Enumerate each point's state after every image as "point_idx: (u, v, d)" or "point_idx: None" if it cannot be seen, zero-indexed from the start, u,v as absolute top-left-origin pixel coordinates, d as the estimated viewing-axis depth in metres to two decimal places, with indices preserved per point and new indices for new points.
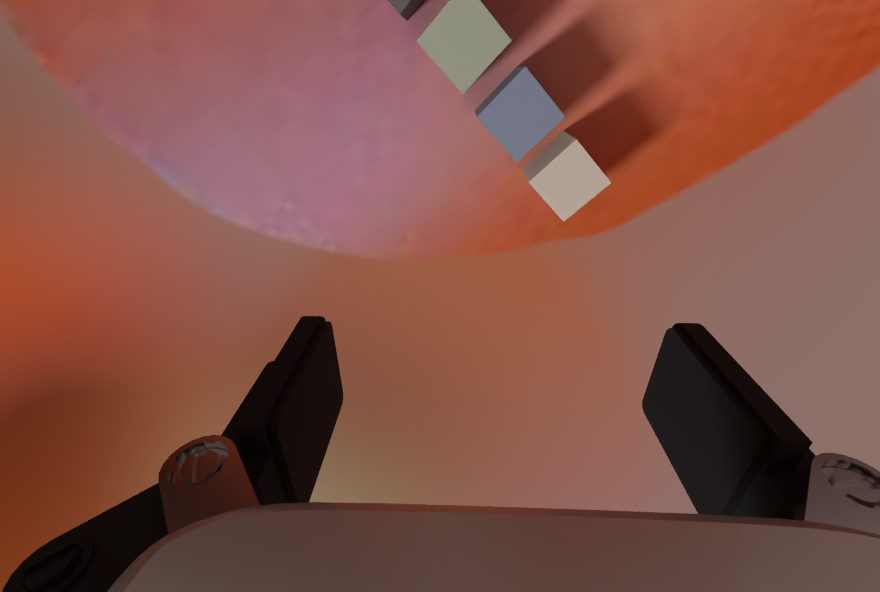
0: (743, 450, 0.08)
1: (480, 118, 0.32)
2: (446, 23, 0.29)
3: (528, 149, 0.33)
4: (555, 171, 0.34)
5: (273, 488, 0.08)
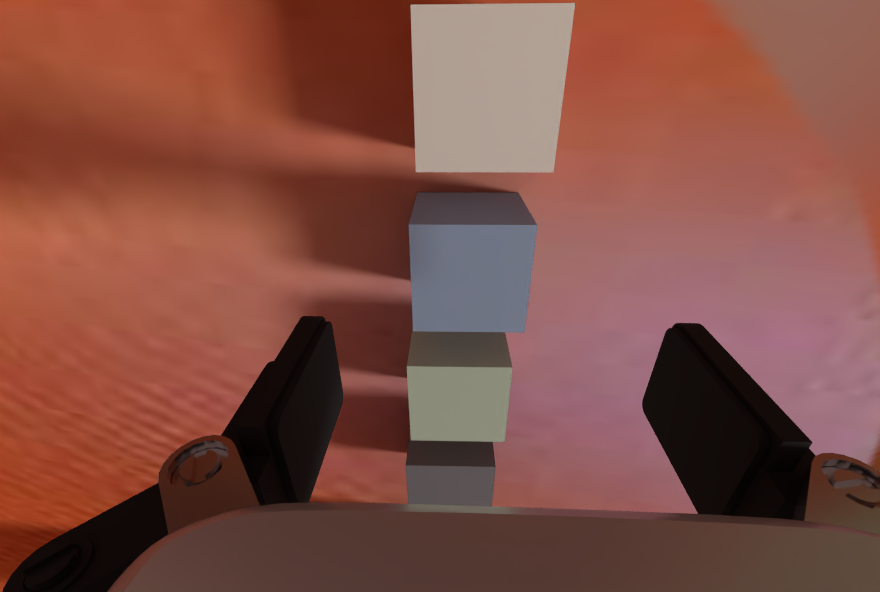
0: (743, 450, 0.08)
1: (522, 326, 0.18)
2: (460, 429, 0.21)
3: (502, 228, 0.16)
4: (494, 145, 0.14)
5: (273, 488, 0.08)
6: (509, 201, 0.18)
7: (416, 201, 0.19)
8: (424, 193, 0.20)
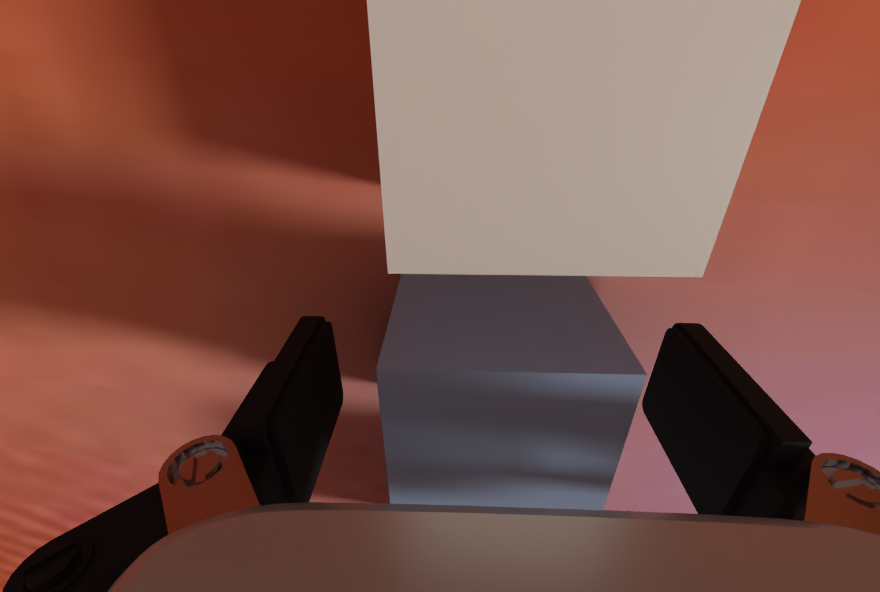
0: (743, 450, 0.08)
1: None
2: None
3: (571, 378, 0.07)
4: (571, 219, 0.06)
5: (273, 488, 0.08)
6: (567, 287, 0.10)
7: (400, 286, 0.10)
8: None
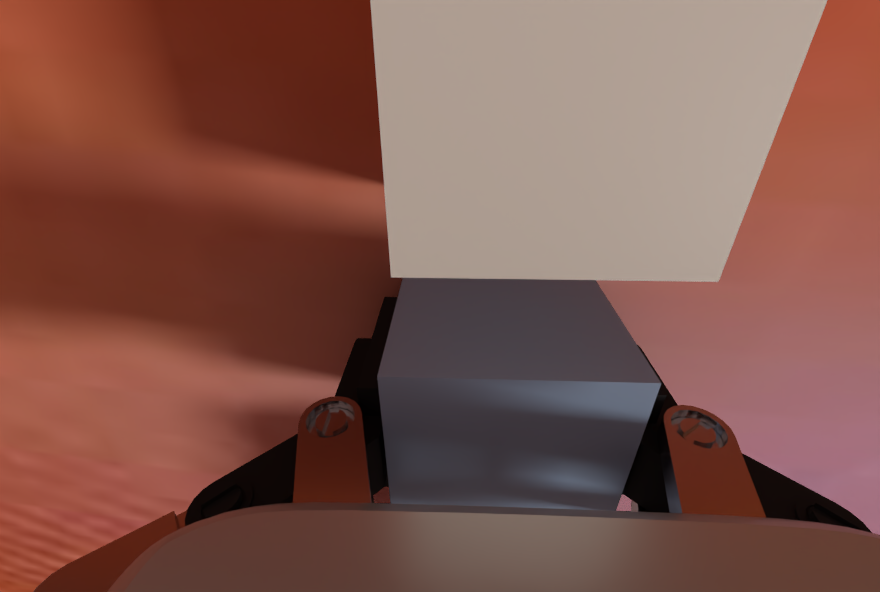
0: None
1: None
2: None
3: (582, 386, 0.07)
4: (582, 222, 0.06)
5: (383, 446, 0.09)
6: (575, 290, 0.10)
7: (402, 288, 0.10)
8: None
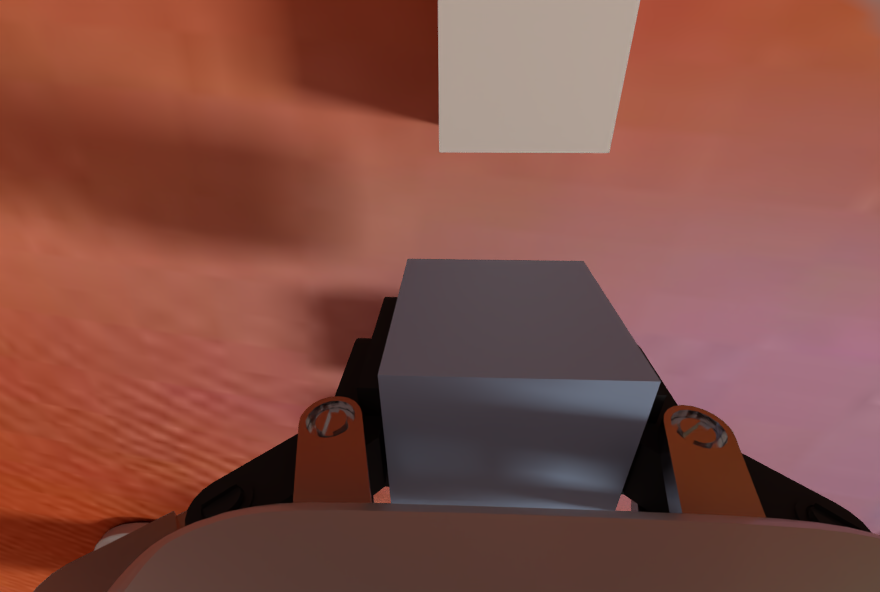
0: None
1: None
2: None
3: (582, 385, 0.07)
4: (536, 118, 0.11)
5: (384, 446, 0.09)
6: (575, 289, 0.10)
7: (403, 287, 0.10)
8: (419, 263, 0.11)
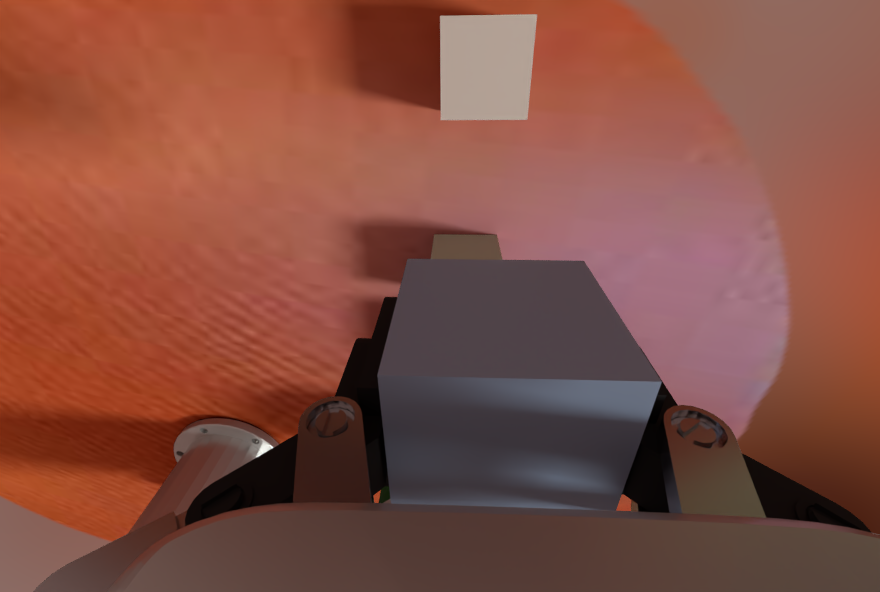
0: None
1: None
2: None
3: (582, 385, 0.07)
4: (489, 102, 0.23)
5: (383, 446, 0.09)
6: (576, 289, 0.10)
7: (403, 287, 0.10)
8: (419, 263, 0.11)
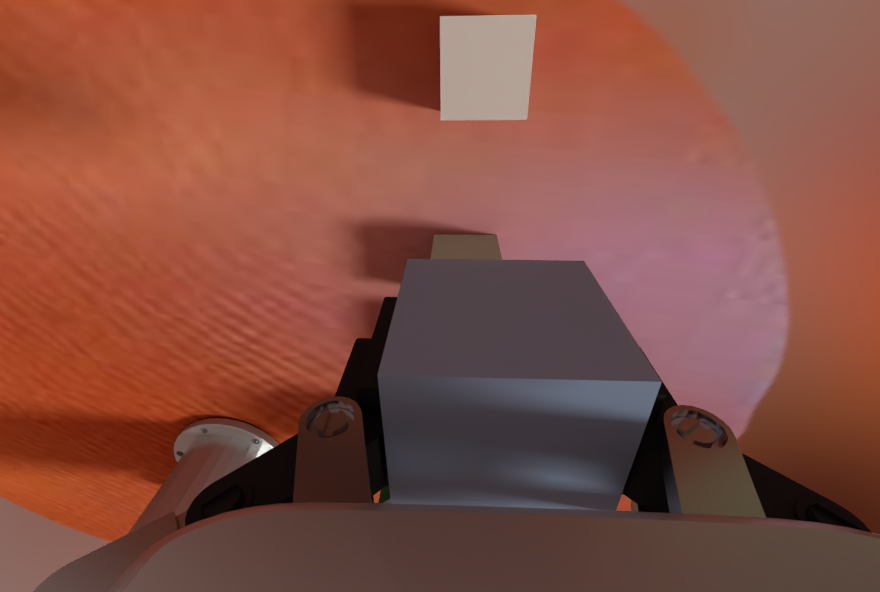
0: None
1: None
2: None
3: (582, 385, 0.07)
4: (489, 102, 0.23)
5: (383, 446, 0.09)
6: (576, 289, 0.10)
7: (403, 287, 0.10)
8: (419, 263, 0.11)
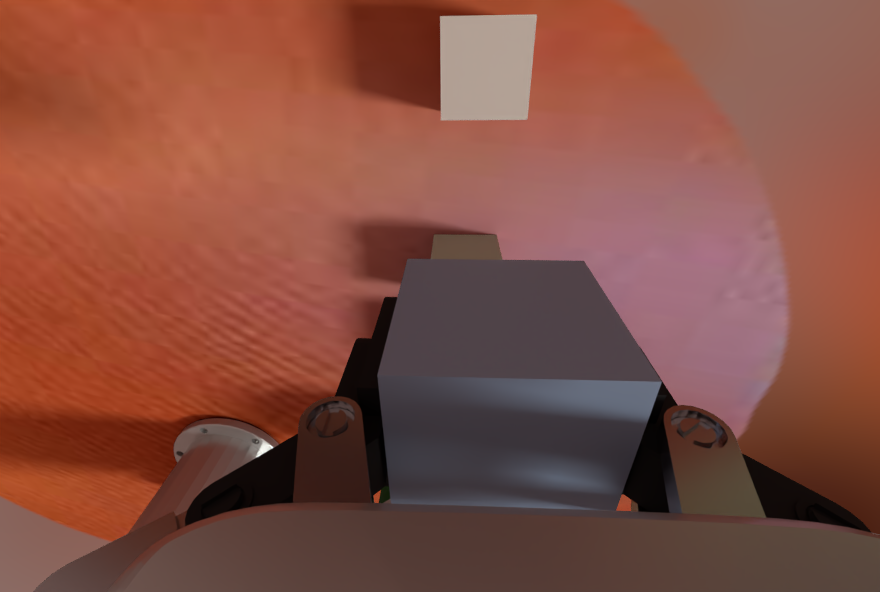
0: None
1: None
2: None
3: (582, 385, 0.07)
4: (489, 102, 0.23)
5: (383, 446, 0.09)
6: (576, 289, 0.10)
7: (403, 287, 0.10)
8: (419, 263, 0.11)
